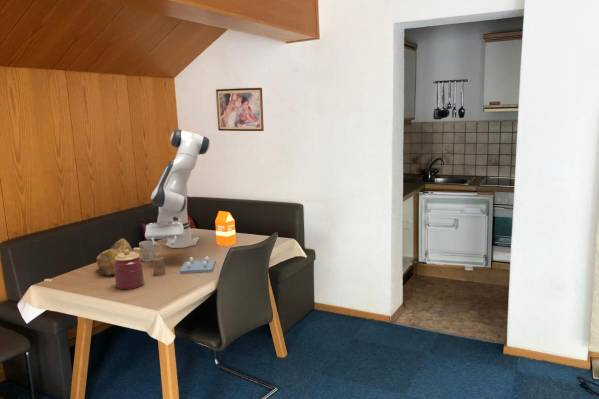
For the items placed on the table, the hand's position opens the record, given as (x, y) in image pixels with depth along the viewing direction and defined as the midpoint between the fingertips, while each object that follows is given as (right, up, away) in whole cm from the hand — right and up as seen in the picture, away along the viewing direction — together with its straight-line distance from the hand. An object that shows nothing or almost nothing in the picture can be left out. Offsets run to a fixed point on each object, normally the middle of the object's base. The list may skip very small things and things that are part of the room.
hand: (163, 244), depth 264 cm
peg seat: (+18, -12, 0) cm, 22 cm away
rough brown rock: (-27, -14, +2) cm, 30 cm away
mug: (-12, -10, +19) cm, 24 cm away
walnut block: (0, -14, -7) cm, 16 cm away
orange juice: (+26, -4, +44) cm, 52 cm away
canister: (-10, -17, -22) cm, 30 cm away
